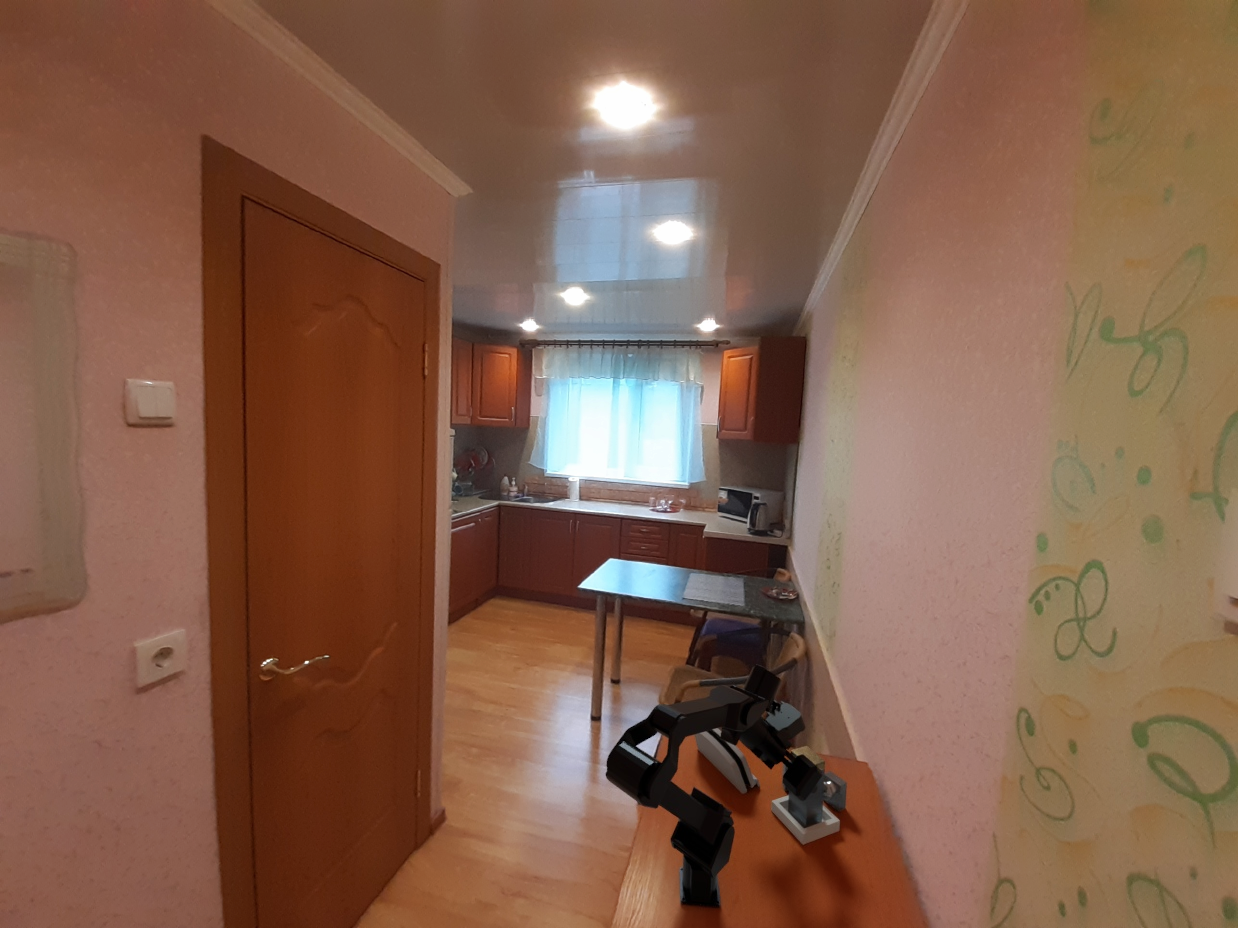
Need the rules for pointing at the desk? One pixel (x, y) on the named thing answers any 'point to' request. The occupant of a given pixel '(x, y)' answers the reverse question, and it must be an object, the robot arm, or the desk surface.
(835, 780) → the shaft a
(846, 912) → the desk surface
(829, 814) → the white square tray
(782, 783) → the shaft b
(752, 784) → the white electronic device
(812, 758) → the tan and grey block
